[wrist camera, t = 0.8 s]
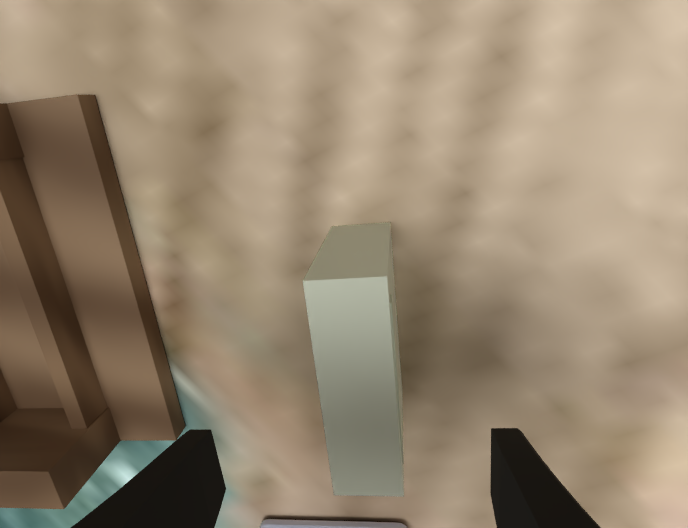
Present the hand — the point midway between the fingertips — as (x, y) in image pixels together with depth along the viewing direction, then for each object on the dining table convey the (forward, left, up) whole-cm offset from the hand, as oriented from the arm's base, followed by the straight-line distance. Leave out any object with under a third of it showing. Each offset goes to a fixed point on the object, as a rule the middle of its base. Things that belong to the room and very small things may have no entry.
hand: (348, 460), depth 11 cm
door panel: (0, 0, -9) cm, 9 cm away
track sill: (+2, +16, -8) cm, 18 cm away
